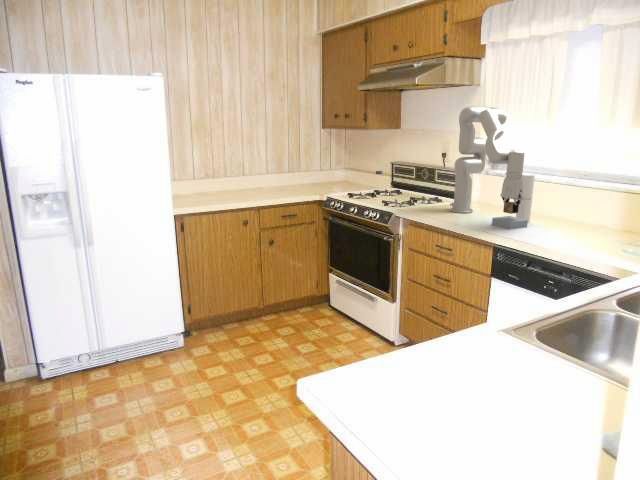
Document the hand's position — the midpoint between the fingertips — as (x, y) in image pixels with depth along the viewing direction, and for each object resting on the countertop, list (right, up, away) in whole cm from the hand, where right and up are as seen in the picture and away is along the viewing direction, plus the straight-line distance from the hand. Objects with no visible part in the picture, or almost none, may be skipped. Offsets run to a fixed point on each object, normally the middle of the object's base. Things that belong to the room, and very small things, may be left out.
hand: (510, 211), depth 253 cm
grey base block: (0, -8, +2) cm, 8 cm away
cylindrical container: (+11, -5, +13) cm, 18 cm away
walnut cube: (0, -1, 0) cm, 1 cm away
